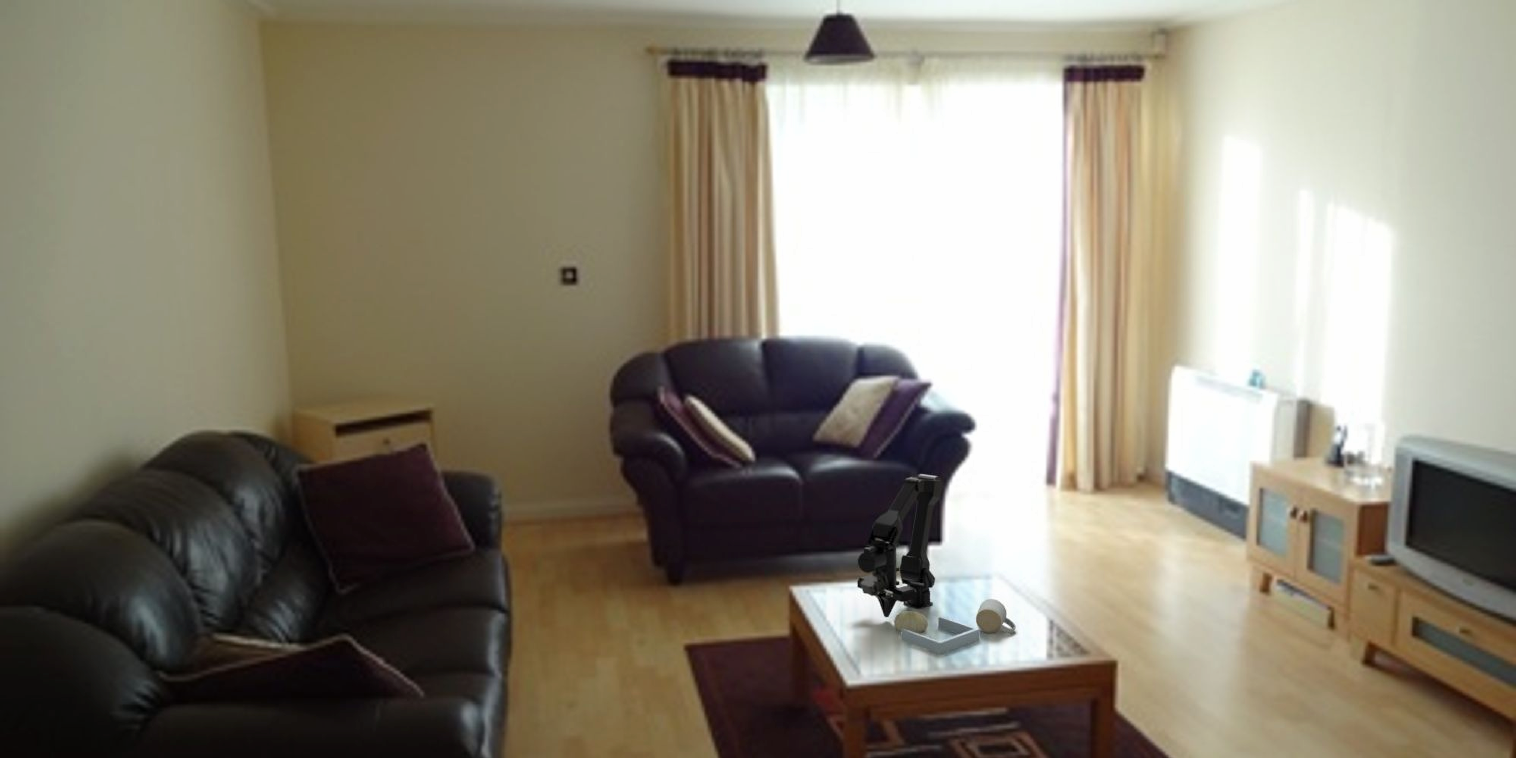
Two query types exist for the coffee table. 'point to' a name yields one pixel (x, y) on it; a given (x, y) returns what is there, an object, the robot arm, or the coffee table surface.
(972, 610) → the coffee table surface
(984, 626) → the ceramic mug
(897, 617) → the sea urchin shell
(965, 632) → the corral
